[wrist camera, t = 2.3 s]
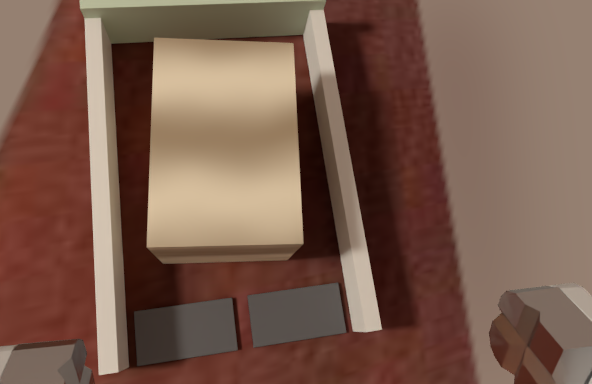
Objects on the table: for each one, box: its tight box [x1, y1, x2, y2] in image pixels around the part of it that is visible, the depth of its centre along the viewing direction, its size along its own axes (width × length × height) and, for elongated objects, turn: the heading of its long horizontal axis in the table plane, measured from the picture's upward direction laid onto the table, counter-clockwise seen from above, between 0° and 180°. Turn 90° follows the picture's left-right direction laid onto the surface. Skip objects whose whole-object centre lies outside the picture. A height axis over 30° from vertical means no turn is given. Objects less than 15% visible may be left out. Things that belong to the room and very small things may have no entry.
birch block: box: [147, 38, 304, 264], centre depth 29 cm, size 12×8×7 cm, turn 3°
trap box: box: [80, 0, 382, 375], centre depth 31 cm, size 23×16×4 cm
